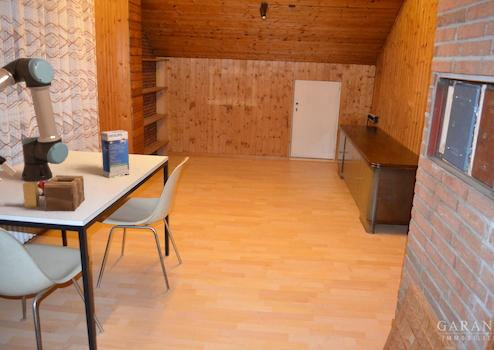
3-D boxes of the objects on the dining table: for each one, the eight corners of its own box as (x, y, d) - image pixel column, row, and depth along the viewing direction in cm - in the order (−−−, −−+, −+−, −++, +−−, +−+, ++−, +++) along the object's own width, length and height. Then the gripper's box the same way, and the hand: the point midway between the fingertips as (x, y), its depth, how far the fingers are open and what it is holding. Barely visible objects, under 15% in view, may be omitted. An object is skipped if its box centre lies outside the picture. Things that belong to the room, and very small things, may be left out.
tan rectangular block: (28, 205, 191) (26, 181, 188) (39, 205, 192) (37, 181, 189) (24, 207, 188) (22, 183, 185) (36, 207, 188) (34, 184, 186)
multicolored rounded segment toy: (39, 191, 212) (38, 177, 210) (59, 192, 212) (58, 178, 210) (32, 196, 203) (30, 182, 202) (52, 197, 204) (51, 182, 202)
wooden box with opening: (58, 199, 200) (56, 175, 197) (84, 200, 201) (83, 175, 198) (45, 211, 185) (43, 184, 182) (74, 211, 186) (72, 185, 183)
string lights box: (123, 172, 254) (121, 129, 248) (130, 174, 249) (128, 131, 243) (102, 175, 245) (100, 131, 238) (109, 178, 240) (107, 133, 233)
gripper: (-24, 143, 193) (14, 176, 198) (-57, 155, 168) (-14, 191, 173) (-13, 132, 192) (25, 165, 197) (-45, 142, 168) (-1, 179, 173)
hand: (7, 178), depth 185 cm, fingers open, 13 cm apart
